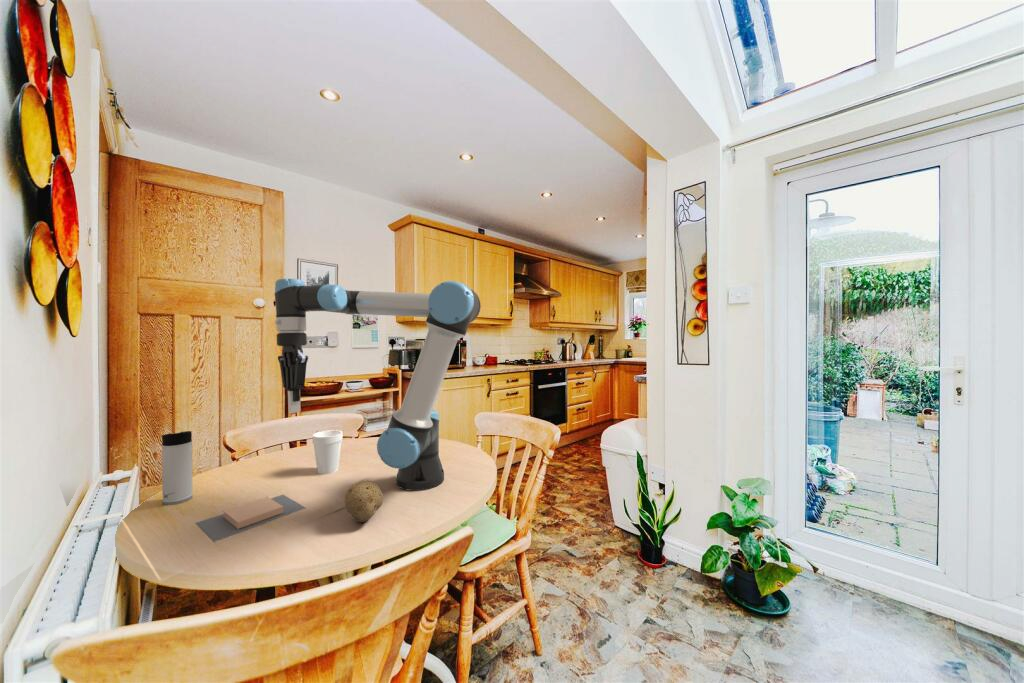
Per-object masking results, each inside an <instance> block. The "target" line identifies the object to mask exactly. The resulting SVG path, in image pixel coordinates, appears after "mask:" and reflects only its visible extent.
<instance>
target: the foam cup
mask: <svg viewBox="0 0 1024 683" xmlns="http://www.w3.org/2000/svg"><path fill="white" fill-rule="evenodd" d="M343 437H344V435H343V431H342V430H339V429H338V430H336V429H330V430H329V429H327V430H322V431H318V432H314V433H313V434H312V444H313V449H314V456H315V463H316V470H317V473H318V474H319V475H329V474H333V473H336V472H337V471H339V464H340V457H341V450H342V441H343V440H344V438H343Z"/></svg>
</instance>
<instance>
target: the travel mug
mask: <svg viewBox="0 0 1024 683" xmlns="http://www.w3.org/2000/svg"><path fill="white" fill-rule="evenodd" d="M192 432H193V431H192V430H186V431H180V432H175V433H166V434H162V435H161V441H162V443H161V471H162V472H161V475H162V477H161V480H162V481H161V482H162V505H163V506H164V507H166V506H173V505H179V504H183V503H185V502H188V501H190V500H192V499H193V494H194V493H193V443H192V442H193V439H192V438H193V437H192Z"/></svg>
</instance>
